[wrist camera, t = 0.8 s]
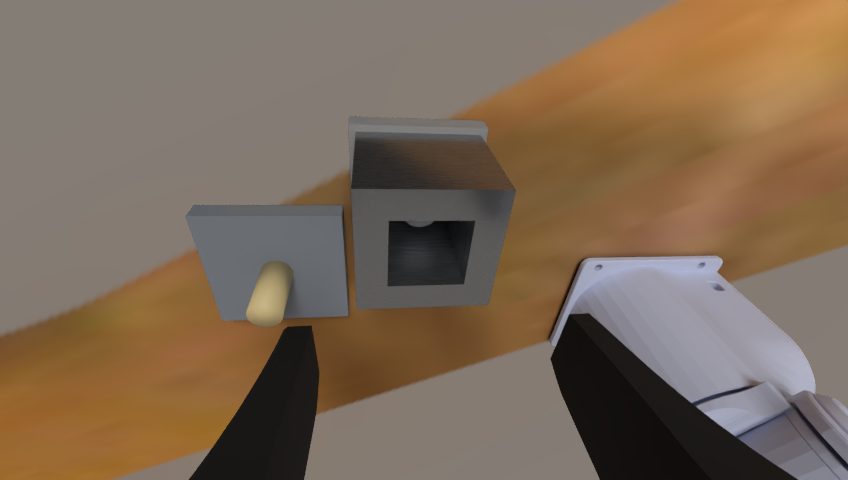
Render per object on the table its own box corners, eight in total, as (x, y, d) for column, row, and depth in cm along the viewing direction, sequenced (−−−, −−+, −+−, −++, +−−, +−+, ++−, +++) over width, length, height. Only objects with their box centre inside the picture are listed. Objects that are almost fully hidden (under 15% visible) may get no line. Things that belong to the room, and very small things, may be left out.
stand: (482, 120, 17) (501, 146, 15) (465, 229, 21) (477, 264, 18) (349, 116, 16) (345, 142, 14) (354, 229, 20) (352, 266, 17)
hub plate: (343, 205, 19) (337, 254, 16) (349, 304, 23) (346, 358, 20) (193, 205, 18) (155, 257, 15) (227, 307, 22) (203, 366, 19)
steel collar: (480, 135, 17) (516, 190, 13) (464, 235, 20) (488, 304, 16) (355, 131, 16) (350, 188, 12) (359, 236, 19) (356, 309, 15)
